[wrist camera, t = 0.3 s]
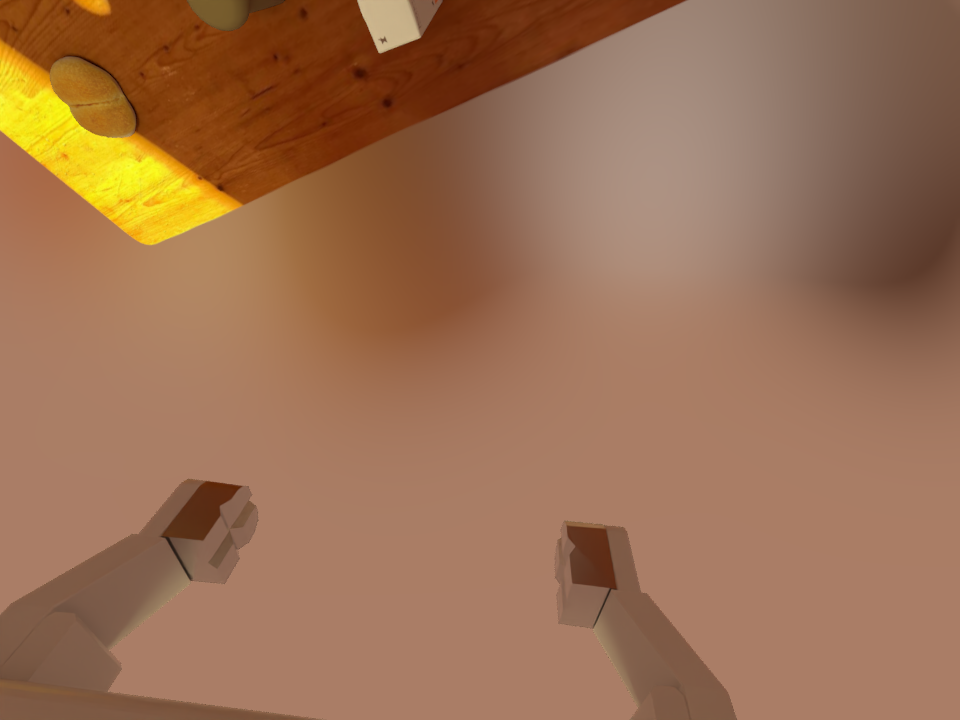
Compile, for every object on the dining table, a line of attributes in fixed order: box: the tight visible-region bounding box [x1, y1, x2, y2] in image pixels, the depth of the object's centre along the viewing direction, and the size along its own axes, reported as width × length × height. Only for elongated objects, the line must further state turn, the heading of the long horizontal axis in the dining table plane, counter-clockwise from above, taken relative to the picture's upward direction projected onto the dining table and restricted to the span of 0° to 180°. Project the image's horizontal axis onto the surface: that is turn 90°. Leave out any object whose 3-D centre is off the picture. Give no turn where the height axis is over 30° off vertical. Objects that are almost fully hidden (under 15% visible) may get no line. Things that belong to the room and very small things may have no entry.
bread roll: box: [50, 56, 136, 138], centre depth 54 cm, size 8×9×4 cm
